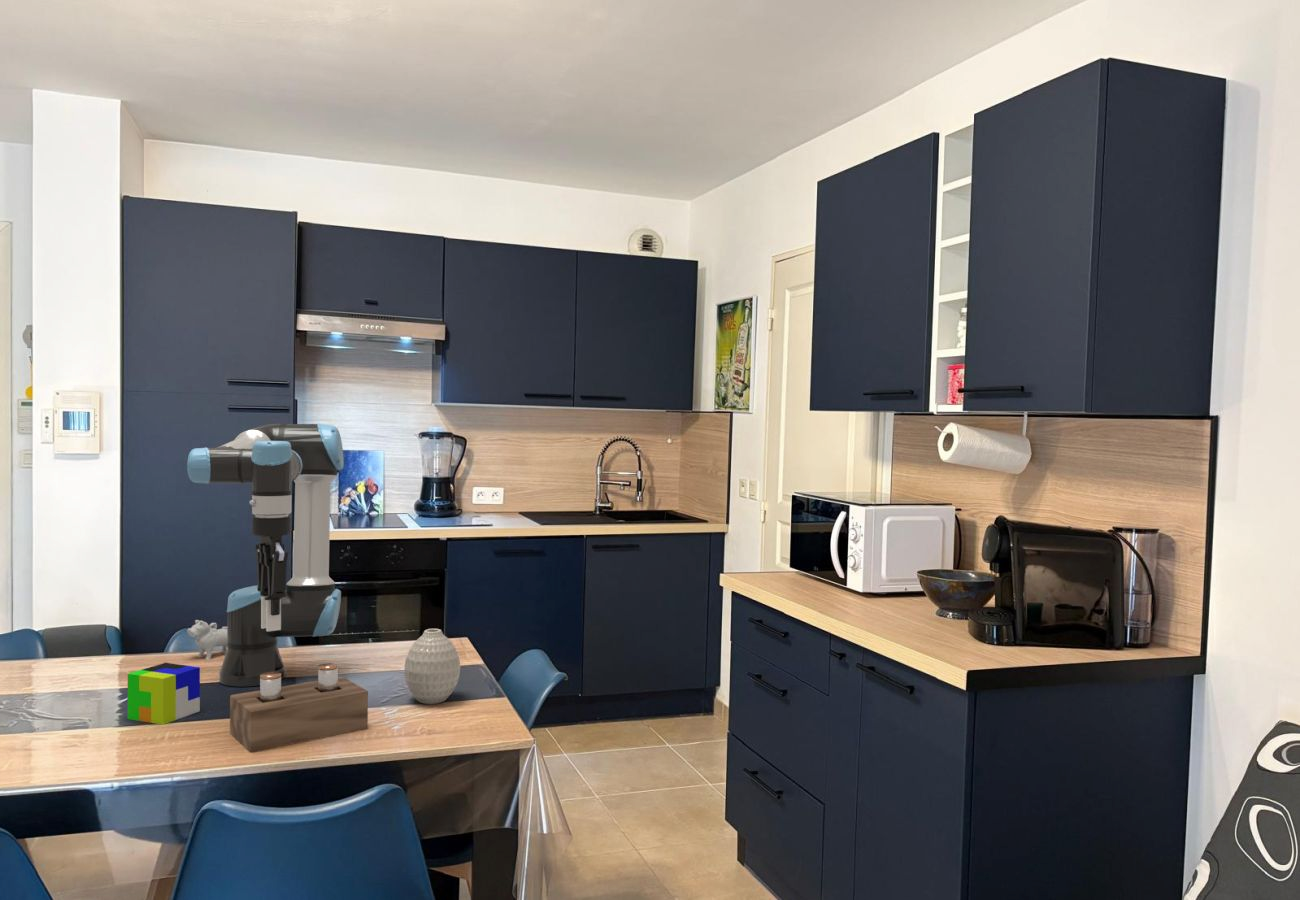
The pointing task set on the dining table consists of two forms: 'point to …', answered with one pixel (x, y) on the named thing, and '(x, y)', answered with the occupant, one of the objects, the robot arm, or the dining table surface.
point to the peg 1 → (270, 686)
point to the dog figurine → (208, 637)
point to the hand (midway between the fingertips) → (270, 628)
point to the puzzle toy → (163, 693)
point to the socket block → (297, 714)
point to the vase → (432, 667)
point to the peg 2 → (327, 677)
